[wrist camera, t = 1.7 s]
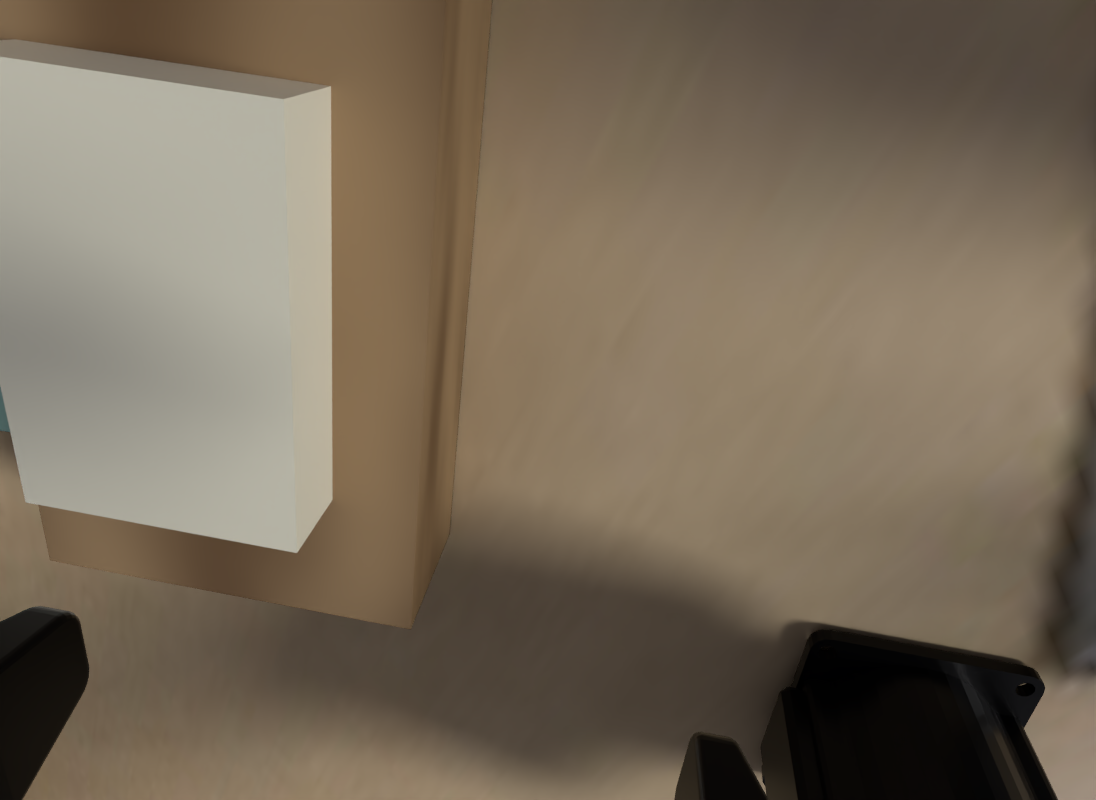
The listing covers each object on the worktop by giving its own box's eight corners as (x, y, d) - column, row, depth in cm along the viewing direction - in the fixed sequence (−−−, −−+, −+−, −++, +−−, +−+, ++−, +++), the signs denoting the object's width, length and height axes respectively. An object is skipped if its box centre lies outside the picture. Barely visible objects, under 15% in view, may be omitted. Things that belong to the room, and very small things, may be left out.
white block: (330, 86, 14) (284, 99, 13) (332, 499, 19) (297, 553, 17) (14, 39, 15) (-75, 45, 13) (85, 454, 19) (25, 501, 17)
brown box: (500, -105, 16) (453, -132, 13) (449, 533, 24) (410, 629, 20) (54, -164, 17) (-110, -205, 13) (140, 477, 24) (49, 560, 21)
